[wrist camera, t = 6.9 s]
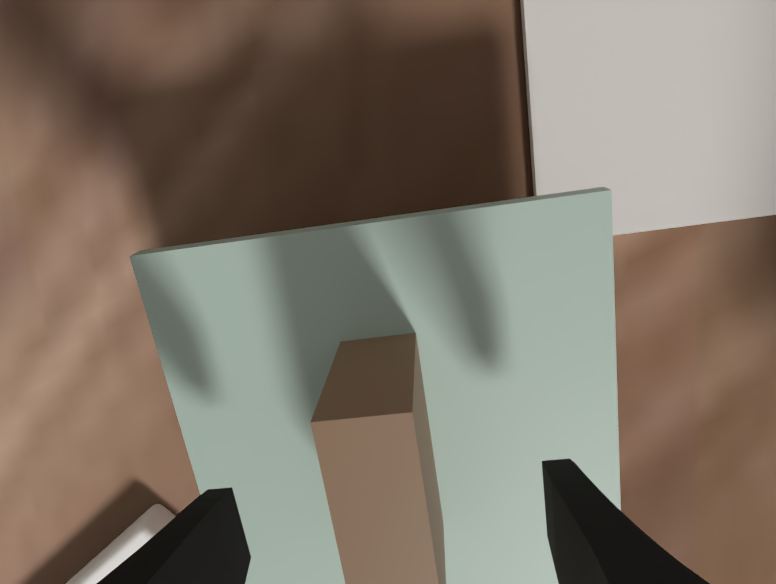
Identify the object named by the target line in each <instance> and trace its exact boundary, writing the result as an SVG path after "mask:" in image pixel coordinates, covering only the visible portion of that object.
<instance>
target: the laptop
mask: <svg viewBox="0 0 776 584" xmlns="http://www.w3.org/2000/svg"><path fill="white" fill-rule="evenodd" d="M175 517H176V516H175V515H174V514H173V513H171V512H170V511H169V510H168V509H166V508H165V507H164V506H163V505H161V504H154V505H153V506H151V507H150V508H149V509H148V510H147V511H146V512H145V513H144V514H143V515H141V516H140V517H139V518H138V519H137V520H136V521H135V522H134V523H132V524H131V525H130V526H129V527H128V528H127V529H126V530H125V531H124V532H122V533H121V534H120V535H119V536H118V537H117V538H116V539H115V540H113V541H112V542H111V543H110V544H109V545H108V546H107V547H106V548H105V549H103V550H102V551H101V552H100V553H99V554H98V555H97V556H96V557H95V558H93V559H92V560H91V561H90V562H89V563H88V564H87V565H86V566H84V567H83V568H82V569H81V570H80V571H79V572H78V573H77V574H76V575H74V576H73V577H72V578H71V579H70V580H69V581H68V582H67V583H65V584H97V583H98V582H99V581H100V580H102V579H103V578H104V577H105V576H107V575H108V574H109V573H110V572H111V571H113V570H114V569H115V568H116V567H118V566H119V565H120V564H121V563H122V562H124V561H125V560H126V559H127V558H129V557H130V556H131V555H132V554H133V553H135V552H136V551H137V550H138V549H139V548H141V547H142V546H143V545H144V544H145V543H146V542H147V541H149V540H150V539H151V538H152V537H153V536H154V535H155V534H157V533H158V532H159V531H160V530H161V529H162V528H163V527H164V526H166V525H167V524H168V523H169V522H170V521H171V520H172V519H174V518H175Z"/></svg>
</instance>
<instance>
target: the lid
mask: <svg viewBox="0 0 776 584" xmlns="http://www.w3.org/2000/svg"><path fill="white" fill-rule="evenodd" d="M130 260H131V263H132V266H133V270H134V273H135V276H136V280H137V283H138V286H139V290H140V293H141V297H142V300H143V303H144V307H145V310H146V313H147V317H148V320H149V323H150V327H151V330H152V334H153V337H154V340H155V344H156V347H157V350H158V354H159V357H160V360H161V364H162V367H163V371H164V374H165V377H166V381H167V384H168V387H169V391H170V394H171V397H172V401H173V404H174V408H175V411H176V414H177V418H178V421H179V424H180V428H181V431H182V434H183V438H184V441H185V444H186V448H187V451H188V455H189V458H190V461H191V465H192V468H193V471H194V475H195V478H196V481H197V485H198V488H199V492H200V495H201V494H203V493H204V492H205V491H206V490H208V489H219V488H231V487H232V489H233V493H234V496H235V500H236V504H237V507H238V511H239V515H240V518H241V522H242V526H243V529H244V533H245V537H246V540H247V544H248V547H249V551H250V555H251V560H250V564H249V569H248V573H247V577H246V582H245V584H559V583H558V579H557V575H556V571H555V567H554V563H553V558H552V554H551V550H550V545H549V541H548V537H547V525H546V512H545V498H544V485H543V472H542V461H546V460H558V459H571V460H572V461H573V462H575V463H576V464H577V466H578V467H579V468H580V469H581V470H582V471H583V472H584V474H585V475H586V476H587V477H588V478H589V479H590V480H591V481H592V482H593V483H594V484H595V486H596V487H597V488H598V489H599V490H600V491H601V492H602V493H603V494H604V495H605V496H606V497H607V498H608V499H609V500H610V501H611V502H612V503H613V504H614V505H615V506H616V507H617V508H618V509H619V510H620V511H621V503H620V468H619V434H618V399H617V365H616V330H615V296H614V262H613V227H612V193H611V190H610V189H608V188H606V187H597V188H590V189H583V190H576V191H568V192H561V193H554V194H547V195H540V196H532V197H525V198H518V199H511V200H503V201H496V202H489V203H482V204H474V205H467V206H460V207H453V208H445V209H438V210H431V211H424V212H416V213H409V214H402V215H395V216H387V217H380V218H373V219H366V220H358V221H351V222H344V223H337V224H329V225H322V226H315V227H308V228H300V229H293V230H286V231H279V232H271V233H264V234H257V235H250V236H242V237H235V238H228V239H221V240H213V241H206V242H199V243H192V244H184V245H177V246H170V247H163V248H155V249H148V250H141V251H139V252H137V253H135V254H133V255H131V256H130Z"/></svg>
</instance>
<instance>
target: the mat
mask: <svg viewBox="0 0 776 584" xmlns="http://www.w3.org/2000/svg"><path fill="white" fill-rule="evenodd" d="M520 3H521V18H522V32H523V47H524V61H525V76H526V91H527V105H528V120H529V134H530V149H531V163H532V178H533V193H534V196H540V195H547V194H554V193H561V192H568V191H576V190H583V189H590V188H597V187H606V188H608V189H610V190H611V193H612V227H613V235H619V234H627V233H635V232H643V231H651V230H659V229H666V228H674V227H682V226H690V225H698V224H706V223H714V222H722V221H730V220H738V219H745V218H753V217H761V216H769V215H776V0H520Z"/></svg>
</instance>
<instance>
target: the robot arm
mask: <svg viewBox="0 0 776 584" xmlns="http://www.w3.org/2000/svg"><path fill="white" fill-rule="evenodd" d="M542 472H543V485H544V498H545V512H546V525H547V537H548V541H549V545H550V550H551V554H552V558H553V563H554V567H555V571H556V575H557V579H558V583H559V584H710V583H708V582H707V581H705V580H704V579H702V578H701V577H700V576H698V575H697V574H695V573H694V572H693V571H691V570H690V569H689V568H687V567H686V566H684V565H683V564H682V563H680V562H679V561H678V560H677V559H675V558H674V557H673V556H672V555H670V554H669V553H668V552H667V551H665V550H664V549H663V548H662V547H661V546H659V545H658V544H657V543H656V542H655V541H653V540H652V539H651V538H650V537H649V536H648V535H646V534H645V533H644V532H643V531H642V530H641V529H640V528H639V527H637V526H636V525H635V524H634V523H633V522H632V521H631V520H630V519H629V518H628V517H627V516H626V515H625V514H624V513H622V512H621V511H620V510H619V509H618V508H617V507H616V506H615V505H614V504H613V503H612V502H611V501H610V500H609V499H608V498H607V497H606V496H605V495H604V494H603V493H602V492H601V491H600V490H599V489H598V488H597V487H596V486H595V484H594V483H593V482H592V481H591V480H590V479H589V478H588V477H587V476H586V475H585V474H584V472H583V471H582V470H581V469H580V468H579V467H578V466H577V464H576V463H575V462H573V461H572V460H571V459H558V460H546V461H542ZM250 560H251V555H250V551H249V547H248V544H247V540H246V537H245V533H244V529H243V526H242V522H241V518H240V515H239V511H238V507H237V504H236V500H235V496H234V493H233V489H232V487H231V488H219V489H208V490H206V491H205V492H204V493H203V494H201V495H200V496H199V497H198V498H196V499H195V500H194V501H193V502H192V503H191V504H189V505H188V506H187V507H186V508H185V509H184V510H183V511H181V512H180V513H179V514H178V515H177V516H176V517H175V518H174V519H172V520H171V521H170V522H169V523H168V524H167V525H166V526H164V527H163V528H162V529H161V530H160V531H159V532H158V533H157V534H155V535H154V536H153V537H152V538H151V539H150V540H149V541H147V542H146V543H145V544H144V545H143V546H142V547H141V548H139V549H138V550H137V551H136V552H135V553H133V554H132V555H131V556H130V557H129V558H127V559H126V560H125V561H124V562H122V563H121V564H120V565H119V566H118V567H116V568H115V569H114V570H113V571H111V572H110V573H109V574H108V575H107V576H105V577H104V578H103V579H102V580H100V581H99V582H98V583H97V584H245V582H246V577H247V573H248V569H249V564H250Z"/></svg>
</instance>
